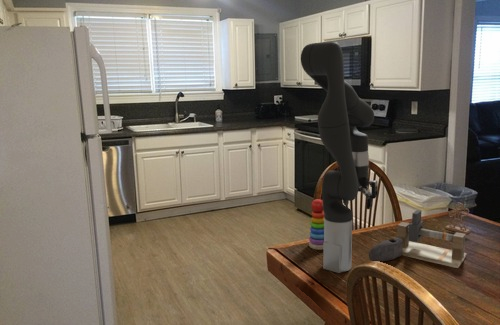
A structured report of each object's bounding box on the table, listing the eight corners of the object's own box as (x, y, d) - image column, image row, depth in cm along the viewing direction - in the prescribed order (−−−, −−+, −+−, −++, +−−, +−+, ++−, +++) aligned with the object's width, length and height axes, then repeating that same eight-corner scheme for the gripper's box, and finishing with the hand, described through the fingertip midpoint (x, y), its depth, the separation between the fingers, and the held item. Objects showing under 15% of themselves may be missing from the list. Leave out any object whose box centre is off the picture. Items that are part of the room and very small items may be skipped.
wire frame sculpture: (444, 228, 179) (446, 201, 177) (449, 226, 181) (451, 199, 179) (466, 234, 172) (468, 205, 170) (470, 232, 174) (472, 204, 172)
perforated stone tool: (373, 266, 145) (374, 247, 144) (363, 260, 150) (364, 242, 148) (407, 258, 151) (408, 240, 150) (396, 253, 156) (397, 235, 154)
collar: (416, 242, 152) (418, 214, 150) (408, 240, 154) (409, 213, 152) (422, 237, 157) (424, 210, 155) (414, 235, 159) (415, 208, 157)
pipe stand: (457, 268, 142) (459, 241, 140) (392, 253, 156) (393, 228, 154) (466, 256, 151) (468, 230, 149) (404, 242, 165) (405, 219, 163)
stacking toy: (328, 242, 167) (329, 196, 163) (330, 250, 159) (330, 202, 156) (308, 242, 168) (308, 196, 164) (309, 250, 160) (309, 202, 156)
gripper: (334, 163, 151) (334, 206, 155) (372, 167, 142) (372, 213, 146) (343, 158, 157) (343, 200, 160) (381, 162, 148) (380, 207, 152)
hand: (357, 206), depth 153 cm, fingers open, 8 cm apart
